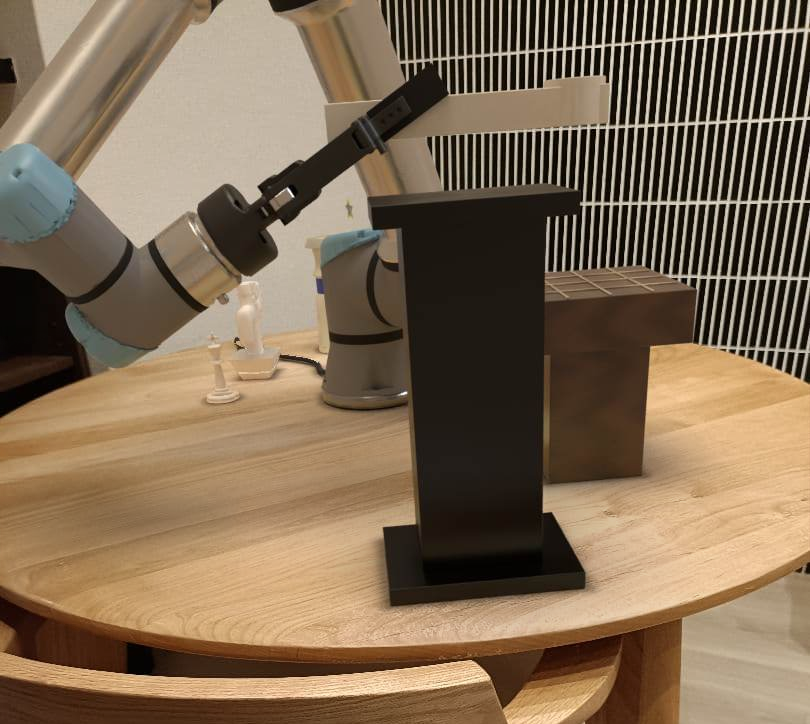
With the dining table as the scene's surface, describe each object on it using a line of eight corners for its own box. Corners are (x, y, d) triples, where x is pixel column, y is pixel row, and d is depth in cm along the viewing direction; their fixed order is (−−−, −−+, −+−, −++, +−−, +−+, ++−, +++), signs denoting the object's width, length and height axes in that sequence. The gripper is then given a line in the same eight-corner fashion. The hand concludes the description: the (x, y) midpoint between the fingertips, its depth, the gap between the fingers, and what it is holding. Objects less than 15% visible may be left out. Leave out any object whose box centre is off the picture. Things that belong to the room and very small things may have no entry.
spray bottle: (342, 340, 154) (327, 197, 143) (372, 346, 149) (360, 197, 138) (307, 350, 149) (290, 202, 138) (338, 355, 144) (322, 202, 133)
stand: (390, 606, 66) (355, 209, 53) (383, 540, 77) (353, 197, 64) (585, 588, 67) (600, 190, 53) (551, 525, 78) (556, 181, 64)
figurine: (230, 384, 131) (214, 288, 125) (244, 368, 140) (230, 278, 133) (274, 382, 131) (260, 285, 124) (286, 367, 139) (274, 275, 132)
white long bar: (327, 144, 69) (322, 95, 67) (328, 143, 73) (324, 98, 72) (611, 122, 69) (613, 74, 68) (594, 123, 74) (596, 78, 72)
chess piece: (209, 395, 126) (197, 330, 122) (241, 392, 126) (230, 327, 122) (204, 404, 122) (192, 337, 117) (238, 402, 122) (227, 334, 118)
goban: (526, 497, 84) (526, 301, 75) (499, 445, 98) (497, 275, 89) (680, 484, 84) (698, 287, 76) (631, 433, 99) (641, 264, 90)
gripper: (255, 266, 83) (449, 123, 78) (236, 296, 68) (474, 119, 63) (207, 200, 80) (405, 47, 75) (175, 215, 65) (421, 24, 60)
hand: (436, 80), depth 69 cm, fingers closed on white long bar, 4 cm apart
